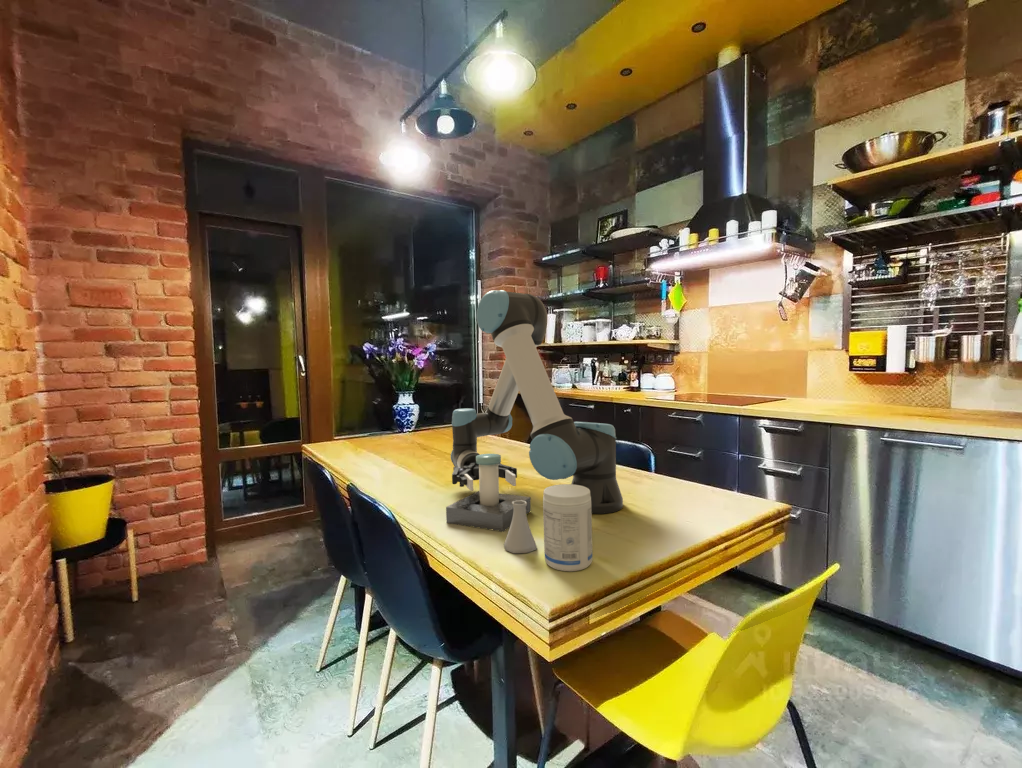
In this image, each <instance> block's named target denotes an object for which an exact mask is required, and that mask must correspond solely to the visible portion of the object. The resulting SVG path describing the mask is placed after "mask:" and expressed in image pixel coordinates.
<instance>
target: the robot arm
mask: <svg viewBox="0 0 1022 768" xmlns="http://www.w3.org/2000/svg"><path fill="white" fill-rule="evenodd" d="M476 324H477V325H478V328H479V329H480V330H481V331H482V332H484V333H486V334H490V336H491V338H492V340H493V342H494V343H493V344H494V345H495V346H496V347H499V348H501V349H502V351H503V353H504V356H505V360H504V363H503V365H502V368H501V371H500V374H499V377H498V379H497V382H496V384H495V387H494V390H493V393H492V395H491V398H490V401H489V404H488V405H487V408H486V411H485V412H479V413H477V410H476V409H475V408H468V407H467V408H457V409H454V410H453V411H452V416H451V426H452V427H451V429H452V450H451V453H450V460H451V463H452V465H453V471H452V473H451V480H452V481H451V484H452V485H456V484H458V483H459V487H460V488H462V487H463V488H464V487H465V486H466V488H467V489H468V490H469V491H474V481H479V464H477V463H476V456H477V455H481V454H480V453H478V444H477V443H478V440H477V439H478V438H480V437H481V438H482V437H487V436H492V435H500V434H504V433H507V432H508V431H510V430H511V429H512V426H513V416H512V415H511V411H512V409H513V407H514V404H515V401H516V399H517V397H518V394H519V393H520V395H521V399H522V401H523V403H524V404H523V405H524V406H525V409H526V412H527V414H528V416H529V419H530V422H531V423H532V430H531V432H530V438H531V439H532V440H531V442H530V444H529V449H530V450H529V452H528V456H529V460H530V463H531V465H532V467H533V469H534V470H535V471H536V472H537V473H538V474H539V476H541V477H543V478H545V479H547V480H550V481H551V480H552V481H558V480H566V479H568V478H570V477H573V478H572V479H571V483H570V484H573V485H580V486H584V487H586V488H588V489H589V490H590V496H591V512H592V514H596V515H597V514H601V515H602V514H603V515H604V514H611V513H612V514H613V513H615V512H618V511H620V510H622V509H623V507H624V500H623V499H624V498H623V495H622V492H621V489H620V486H619V483H618V480H617V459H616V458H617V447H616V446H617V436H616V428H615V427H614V425H613V424H610V423H602V422H601V423H600V422H588V421H574V420H573V418H572V417H571V416H569V415H566V414H565V413H564V411H563V408H562V407H561V403H560V402H559V401H560V400H559V399H558V397H557V394H556V392H555V388H554V387H553V384H552V382H551V380H550V378H549V375H548V373H547V371H546V368H545V366H544V363H543V361H542V359H541V356H540V354H539V352H538V349H537V347H540V346H541V345H542V343H543V342H544V339H545V336H546V333H547V328H548V312H547V309H546V306H545V305H544V303H543V301H542V300H541V299H540V298H539V297H538V296H535V295H534V294H531V293H523V292H522V293H521V292H515V291H506V290H503V289H500V290H497V289H496V290H490V291H488V292H486V293H485V294H484V295H483V296H482V298H480V300H479V303H478V305H477V310H476ZM498 474H499V479H505V481H506V482H507V483H509V485H510V486H513V487H516V486H517V480H516V479H517V478H518V469H517V467H512V466H509V465H506V464H503V463H502V462H501V463H499V464H498Z"/></svg>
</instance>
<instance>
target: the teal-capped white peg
mask: <svg viewBox="0 0 1022 768" xmlns="http://www.w3.org/2000/svg"><path fill="white" fill-rule="evenodd" d="M476 463H477V464H479V480H478V482H479V483H478V485H479V486H478V488H479V490H478V491H480V505H484V506H491V507H495V506H497V505H498V504H499V493H500V487H499V486H500V481H499V479H500V477H499V474H498V464H499V463H501V464H502V456H501V454H498V453H481V454H480V455H477V456H476Z"/></svg>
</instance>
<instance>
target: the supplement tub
mask: <svg viewBox="0 0 1022 768" xmlns="http://www.w3.org/2000/svg"><path fill="white" fill-rule="evenodd" d="M542 509H543V510H542V513H543V544H544V545H543V546H544V551H543V552H544V562H545V564H547V565H548V566H549V567H551V568H552V569H554V570H557V571H562V572H576V571H577V572H578V571H581V570H585V569H587V568H588V567H589V566H590V565H591V564H592V562H593V523H592V521H593V519H592V517H593V515H592V514H593V513H592V512H591V496H590V490H589V489H588V488H586V487H584V486H580V485H573V484H571V483H570V484H569V483H564V484H561V483H560V484H553V485H549V486H547V487H545V488H544V489H543V497H542Z"/></svg>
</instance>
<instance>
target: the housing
mask: <svg viewBox="0 0 1022 768" xmlns="http://www.w3.org/2000/svg"><path fill="white" fill-rule="evenodd" d="M518 500H523V501H526V502H527V506H526V514H527V513H529V512H530V511H532V510H531V497H530V496H523V495H517V494H516V495H515V494H507V493H500V492H499V504H498V505H497V506H495V507H491V506H484V505H480V490H477V491H476V492H474V493H472V494H470V495H467V496H465V497H464V498H462V499H459V500H458V501H455V502H453V503H451V504H450V505H447V506H445V516H446V517H445V518H446V519H445V520H446V524H453V525H458V524H459V526H464V525H466V526H465V527H470V526H474V527H473V528H477V527H480V528H479V529H483V528H487V529H486V530H489V529H493V530H492V531H495V530H499V531H498V532H502V531H503V532H505V531H506V530H507V529H509V528H510V525H511V522H512V518H513V512H514V506H513V504H512V502H513V501H518ZM530 513H531V512H530ZM530 513H529V514H530ZM527 515H528V514H527ZM508 527H509V528H508ZM505 529H506V530H505Z"/></svg>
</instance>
